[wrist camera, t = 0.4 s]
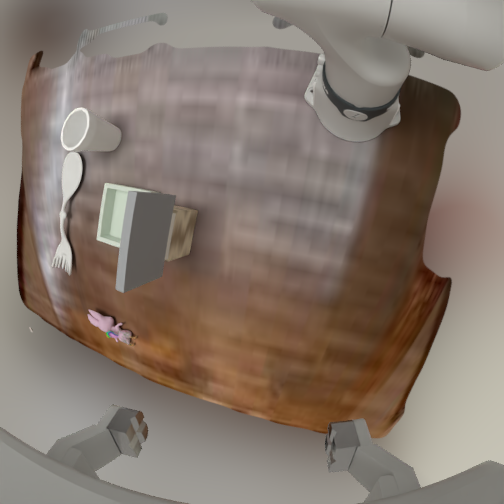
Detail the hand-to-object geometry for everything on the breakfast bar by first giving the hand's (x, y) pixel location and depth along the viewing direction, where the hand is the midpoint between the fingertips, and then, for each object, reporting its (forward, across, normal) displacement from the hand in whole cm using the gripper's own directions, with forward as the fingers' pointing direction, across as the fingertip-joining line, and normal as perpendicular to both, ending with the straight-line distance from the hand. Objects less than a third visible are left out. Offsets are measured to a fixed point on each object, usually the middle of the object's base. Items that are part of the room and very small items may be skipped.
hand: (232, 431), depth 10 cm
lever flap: (+38, +20, -3) cm, 43 cm away
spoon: (+53, +51, -7) cm, 74 cm away
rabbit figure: (+49, +38, +22) cm, 65 cm away
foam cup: (+52, +36, -24) cm, 68 cm away
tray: (+49, +29, -5) cm, 57 cm away
